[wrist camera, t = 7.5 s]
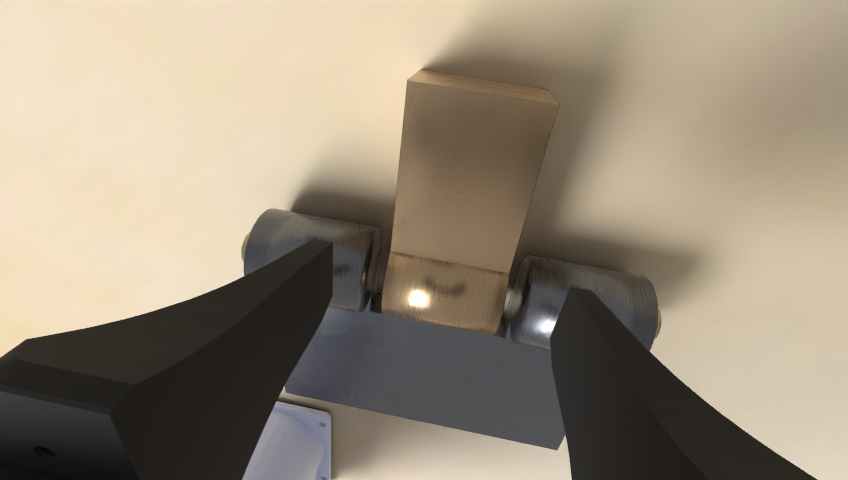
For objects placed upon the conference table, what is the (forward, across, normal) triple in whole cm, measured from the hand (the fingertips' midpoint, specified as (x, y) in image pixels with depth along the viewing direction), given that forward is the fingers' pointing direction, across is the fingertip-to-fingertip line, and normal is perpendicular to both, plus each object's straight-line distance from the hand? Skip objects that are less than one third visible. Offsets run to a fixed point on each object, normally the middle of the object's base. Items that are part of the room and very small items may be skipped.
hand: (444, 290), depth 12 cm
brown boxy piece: (+7, 0, 0) cm, 7 cm away
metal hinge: (+7, 0, +8) cm, 11 cm away
